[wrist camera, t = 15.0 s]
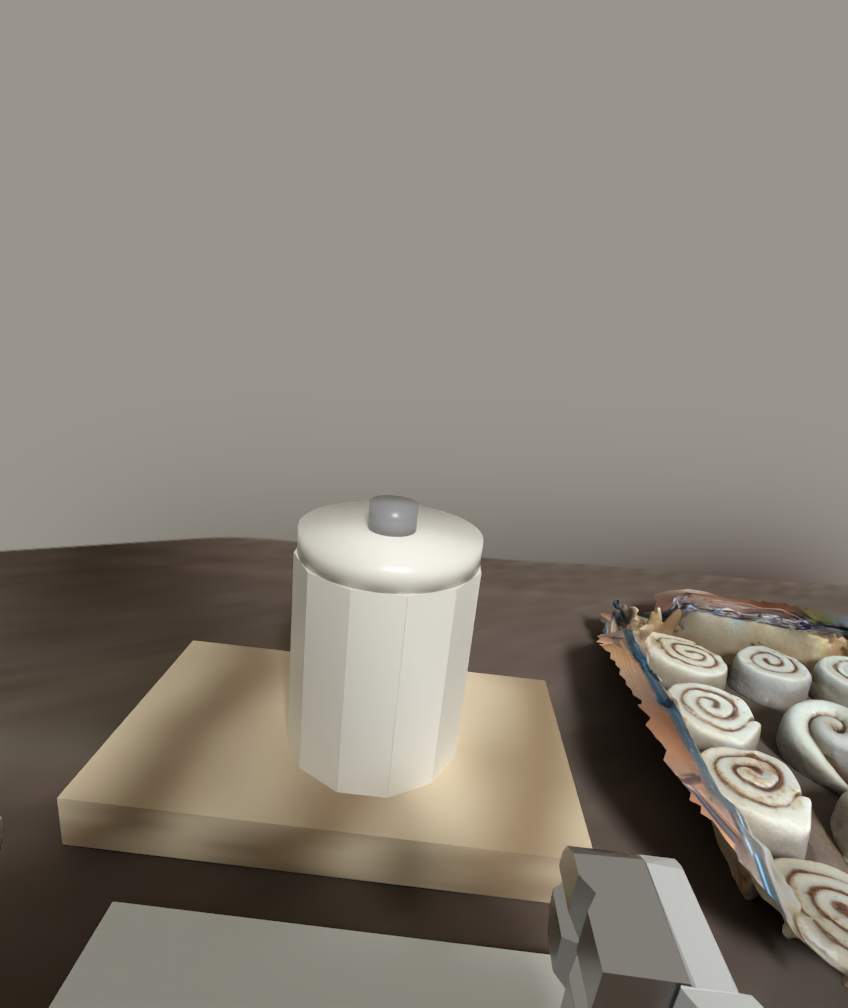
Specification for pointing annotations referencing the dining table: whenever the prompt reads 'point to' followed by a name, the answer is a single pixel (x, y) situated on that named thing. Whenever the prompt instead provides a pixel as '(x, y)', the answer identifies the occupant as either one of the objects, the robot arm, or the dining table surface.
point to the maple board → (314, 806)
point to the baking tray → (752, 741)
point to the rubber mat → (290, 967)
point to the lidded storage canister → (380, 642)
